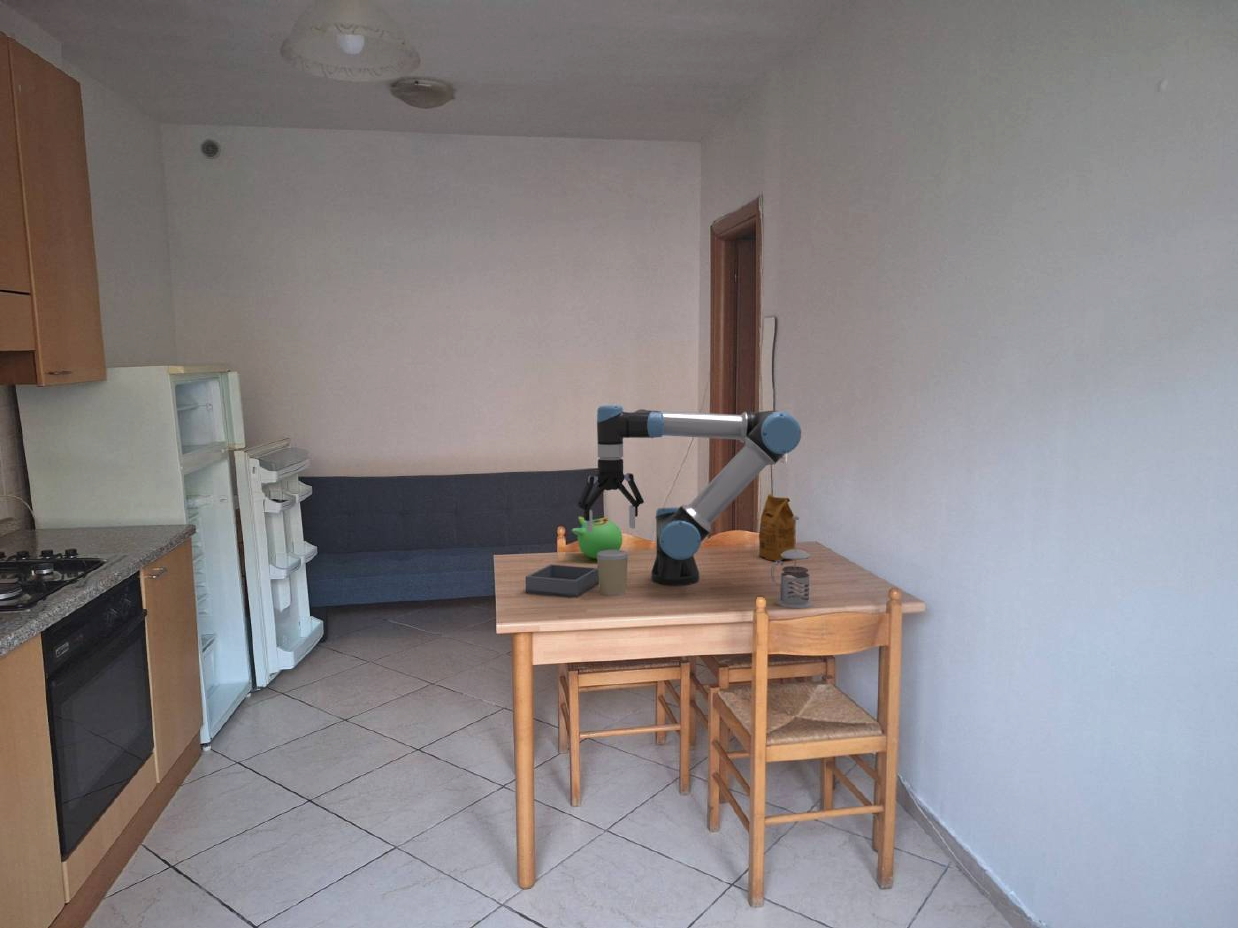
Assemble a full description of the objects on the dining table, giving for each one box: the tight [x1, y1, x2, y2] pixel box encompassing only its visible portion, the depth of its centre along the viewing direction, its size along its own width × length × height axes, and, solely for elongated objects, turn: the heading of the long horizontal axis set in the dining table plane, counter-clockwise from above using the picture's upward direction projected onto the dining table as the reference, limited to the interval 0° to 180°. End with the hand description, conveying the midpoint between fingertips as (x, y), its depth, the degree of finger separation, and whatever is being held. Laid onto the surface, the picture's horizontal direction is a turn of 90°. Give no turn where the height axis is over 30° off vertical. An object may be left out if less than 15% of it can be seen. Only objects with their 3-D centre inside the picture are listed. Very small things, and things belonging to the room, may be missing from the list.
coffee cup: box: [596, 549, 629, 597], centre depth 240 cm, size 9×9×12 cm
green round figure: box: [571, 516, 623, 560], centre depth 285 cm, size 18×17×15 cm
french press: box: [770, 514, 814, 609], centre depth 226 cm, size 10×12×25 cm
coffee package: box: [758, 493, 795, 562], centre depth 281 cm, size 10×12×22 cm
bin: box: [525, 563, 599, 598], centre depth 246 cm, size 17×17×5 cm
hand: (611, 529), depth 239 cm, fingers open, 13 cm apart
